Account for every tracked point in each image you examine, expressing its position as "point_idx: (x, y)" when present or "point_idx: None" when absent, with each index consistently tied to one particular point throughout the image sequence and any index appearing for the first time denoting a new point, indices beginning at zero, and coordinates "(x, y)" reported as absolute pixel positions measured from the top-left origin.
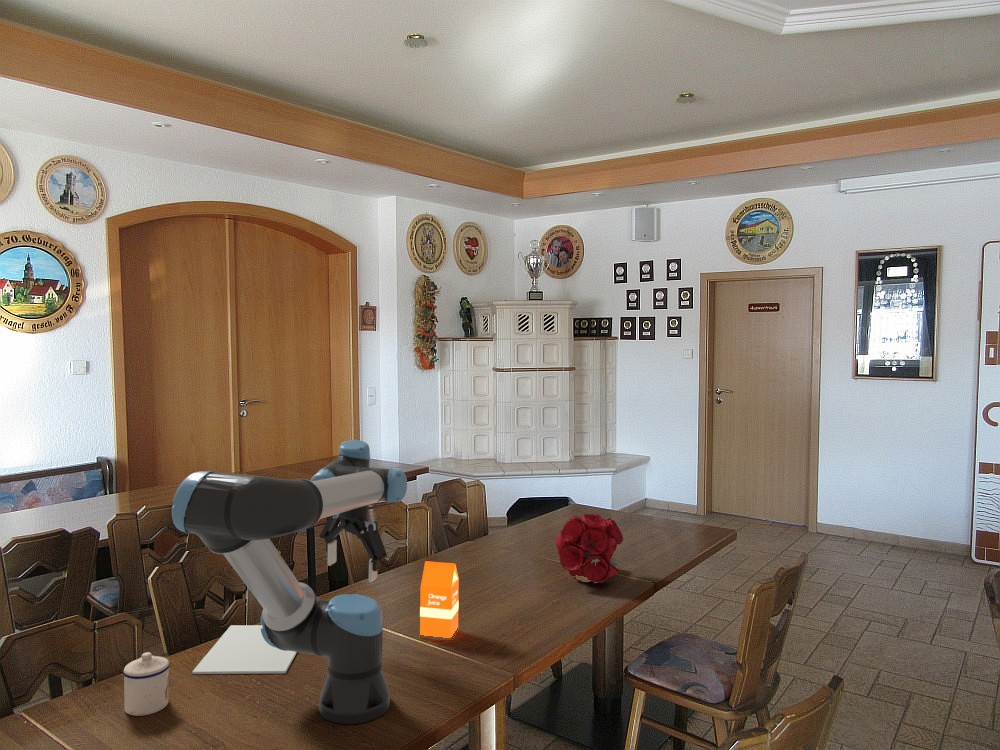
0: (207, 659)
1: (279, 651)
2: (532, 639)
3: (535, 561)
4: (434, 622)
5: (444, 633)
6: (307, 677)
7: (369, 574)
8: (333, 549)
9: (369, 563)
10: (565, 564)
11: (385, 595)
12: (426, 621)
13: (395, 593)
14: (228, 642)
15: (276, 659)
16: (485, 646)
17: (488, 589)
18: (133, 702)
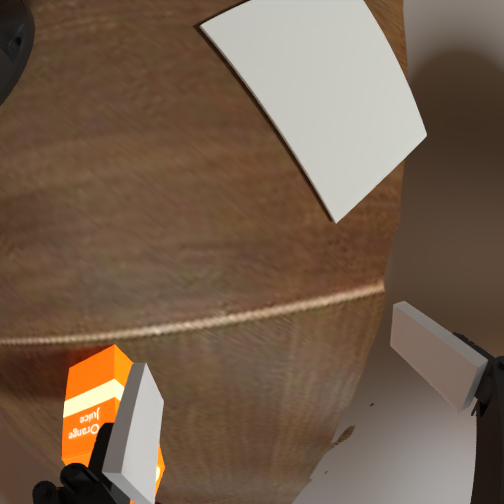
0: (363, 10)
1: (293, 86)
2: (25, 423)
3: (228, 495)
4: (89, 382)
5: (76, 374)
6: (139, 44)
7: (131, 394)
8: (439, 368)
9: (120, 452)
10: None
11: (310, 381)
12: (103, 376)
13: (302, 393)
14: (390, 77)
15: (266, 53)
16: (26, 383)
17: (205, 464)
18: None
